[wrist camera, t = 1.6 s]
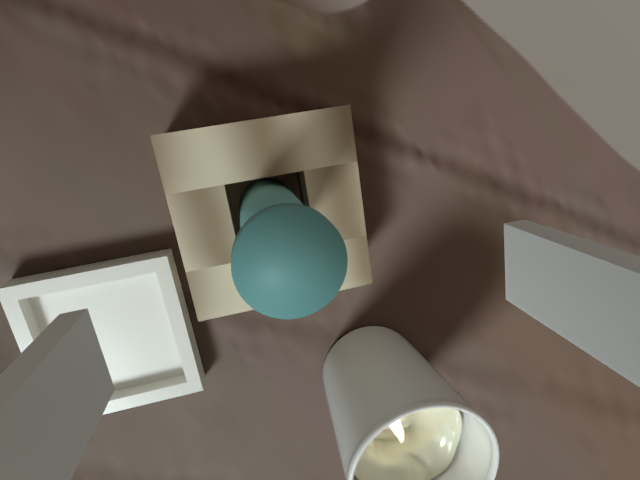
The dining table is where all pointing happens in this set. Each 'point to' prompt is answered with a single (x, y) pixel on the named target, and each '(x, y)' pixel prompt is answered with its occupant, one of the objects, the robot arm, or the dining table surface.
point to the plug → (285, 253)
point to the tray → (119, 322)
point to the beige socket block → (246, 167)
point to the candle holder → (401, 414)
